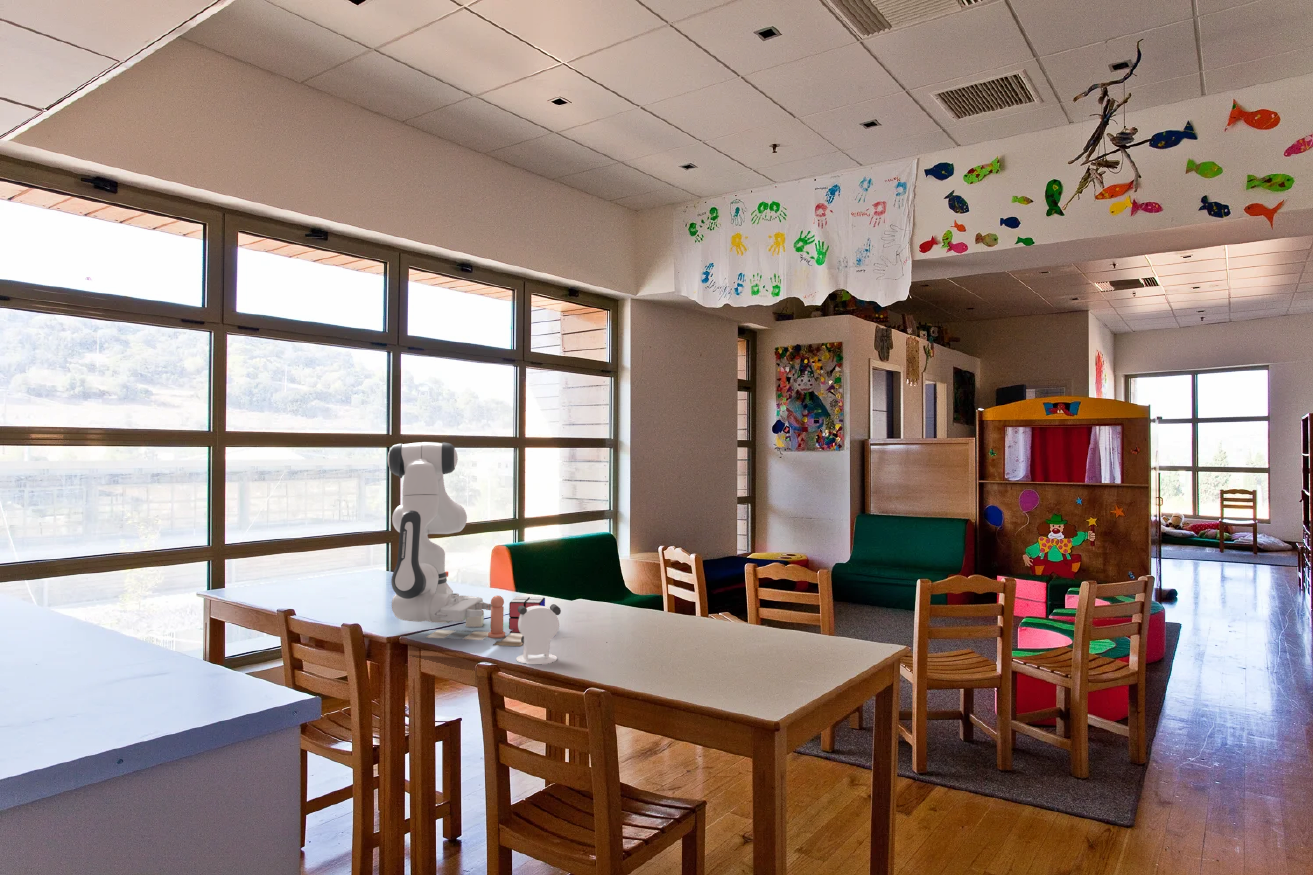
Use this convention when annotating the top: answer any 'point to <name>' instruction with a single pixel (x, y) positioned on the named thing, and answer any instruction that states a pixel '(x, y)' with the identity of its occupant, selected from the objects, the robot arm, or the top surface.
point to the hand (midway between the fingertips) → (487, 609)
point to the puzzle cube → (521, 601)
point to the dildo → (497, 618)
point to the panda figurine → (537, 633)
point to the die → (475, 621)
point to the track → (479, 637)
